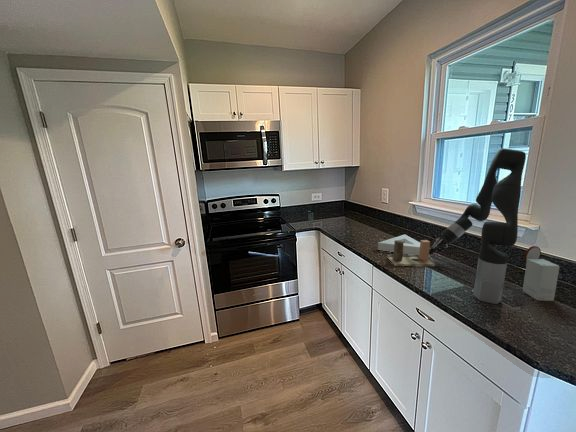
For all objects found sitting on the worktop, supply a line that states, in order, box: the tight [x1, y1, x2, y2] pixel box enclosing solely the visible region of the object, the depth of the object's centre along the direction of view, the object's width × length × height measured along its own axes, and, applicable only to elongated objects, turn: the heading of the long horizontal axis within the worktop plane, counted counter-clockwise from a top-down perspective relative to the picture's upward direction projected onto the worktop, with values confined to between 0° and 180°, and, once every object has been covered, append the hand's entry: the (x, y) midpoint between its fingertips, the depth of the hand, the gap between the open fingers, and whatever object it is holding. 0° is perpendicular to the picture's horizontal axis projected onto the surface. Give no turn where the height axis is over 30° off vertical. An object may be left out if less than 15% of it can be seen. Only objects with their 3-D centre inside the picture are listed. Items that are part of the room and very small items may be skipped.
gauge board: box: [386, 254, 436, 268], centre depth 144 cm, size 22×12×2 cm, turn 87°
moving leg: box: [419, 239, 431, 260], centre depth 143 cm, size 4×6×11 cm, turn 177°
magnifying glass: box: [523, 245, 542, 264], centre depth 111 cm, size 9×2×20 cm, turn 103°
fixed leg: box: [392, 240, 404, 261], centre depth 144 cm, size 4×6×11 cm, turn 177°
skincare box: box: [522, 258, 560, 302], centre depth 105 cm, size 8×7×16 cm
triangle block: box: [377, 234, 431, 258], centre depth 168 cm, size 30×26×6 cm
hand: (428, 253), depth 142 cm, fingers closed
